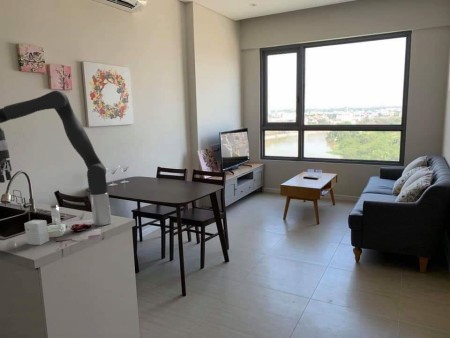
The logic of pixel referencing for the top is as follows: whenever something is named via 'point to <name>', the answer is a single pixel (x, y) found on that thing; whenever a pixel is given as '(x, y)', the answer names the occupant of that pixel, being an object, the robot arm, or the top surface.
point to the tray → (56, 230)
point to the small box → (36, 232)
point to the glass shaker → (55, 214)
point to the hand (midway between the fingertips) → (5, 181)
